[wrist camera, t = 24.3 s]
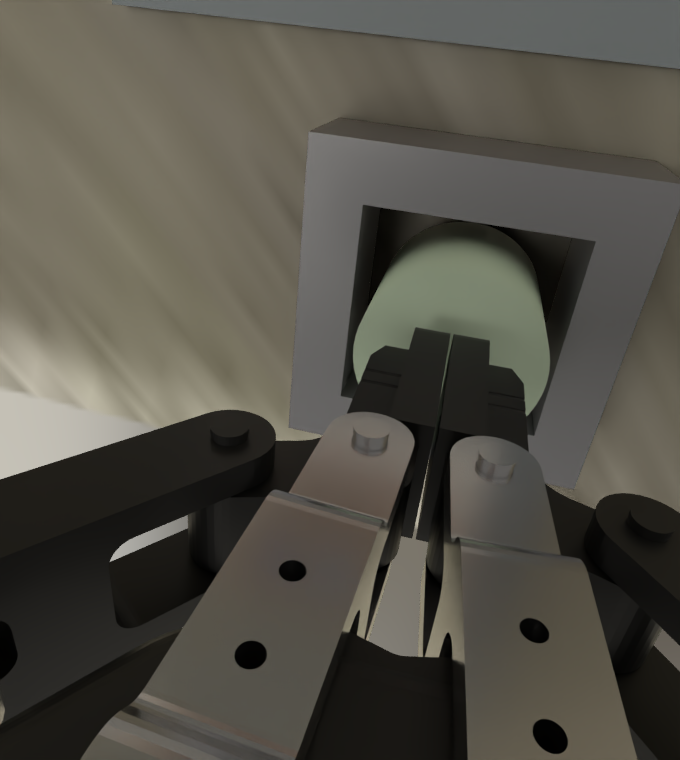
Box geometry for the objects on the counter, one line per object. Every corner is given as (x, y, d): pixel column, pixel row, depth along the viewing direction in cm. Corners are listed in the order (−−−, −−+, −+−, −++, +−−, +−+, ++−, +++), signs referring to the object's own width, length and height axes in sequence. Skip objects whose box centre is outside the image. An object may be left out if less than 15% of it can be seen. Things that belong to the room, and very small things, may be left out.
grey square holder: (315, 378, 20) (288, 427, 17) (338, 117, 16) (308, 131, 13) (563, 429, 19) (573, 489, 16) (656, 160, 15) (688, 184, 12)
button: (373, 352, 18) (343, 424, 14) (394, 210, 16) (364, 255, 12) (517, 380, 17) (522, 462, 14) (558, 235, 15) (575, 290, 12)
